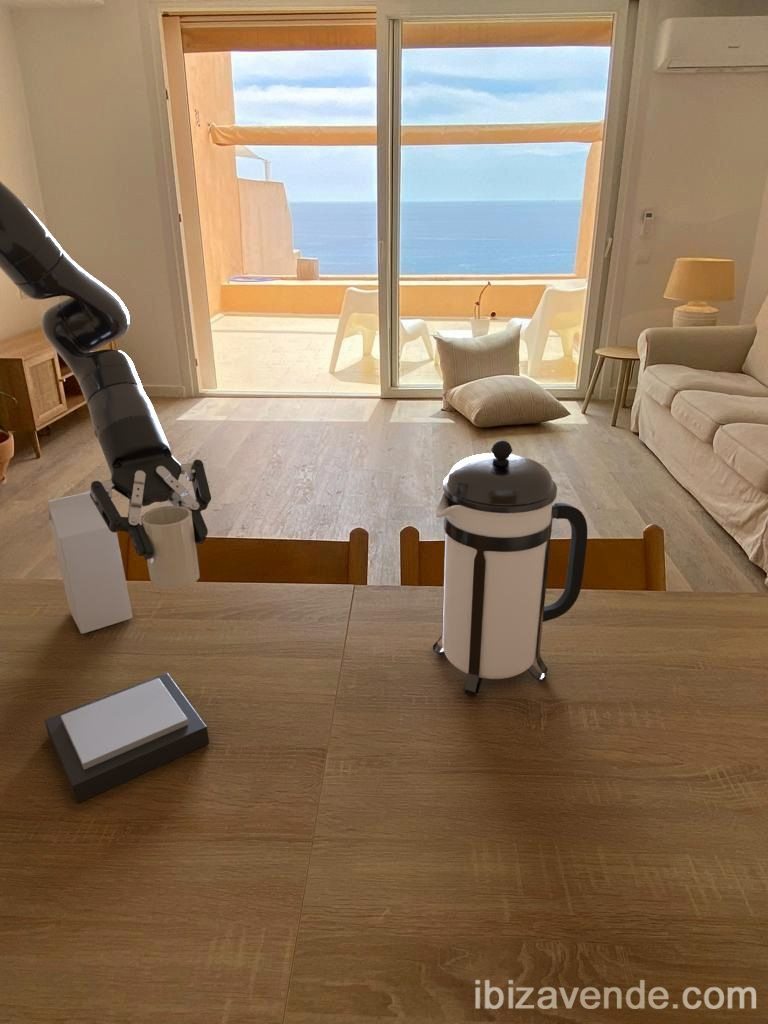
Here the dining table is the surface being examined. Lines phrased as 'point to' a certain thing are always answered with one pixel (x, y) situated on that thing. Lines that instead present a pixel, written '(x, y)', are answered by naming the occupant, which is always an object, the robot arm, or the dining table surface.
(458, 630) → the coffee press
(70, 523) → the milk carton
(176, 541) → the cup
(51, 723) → the scale
